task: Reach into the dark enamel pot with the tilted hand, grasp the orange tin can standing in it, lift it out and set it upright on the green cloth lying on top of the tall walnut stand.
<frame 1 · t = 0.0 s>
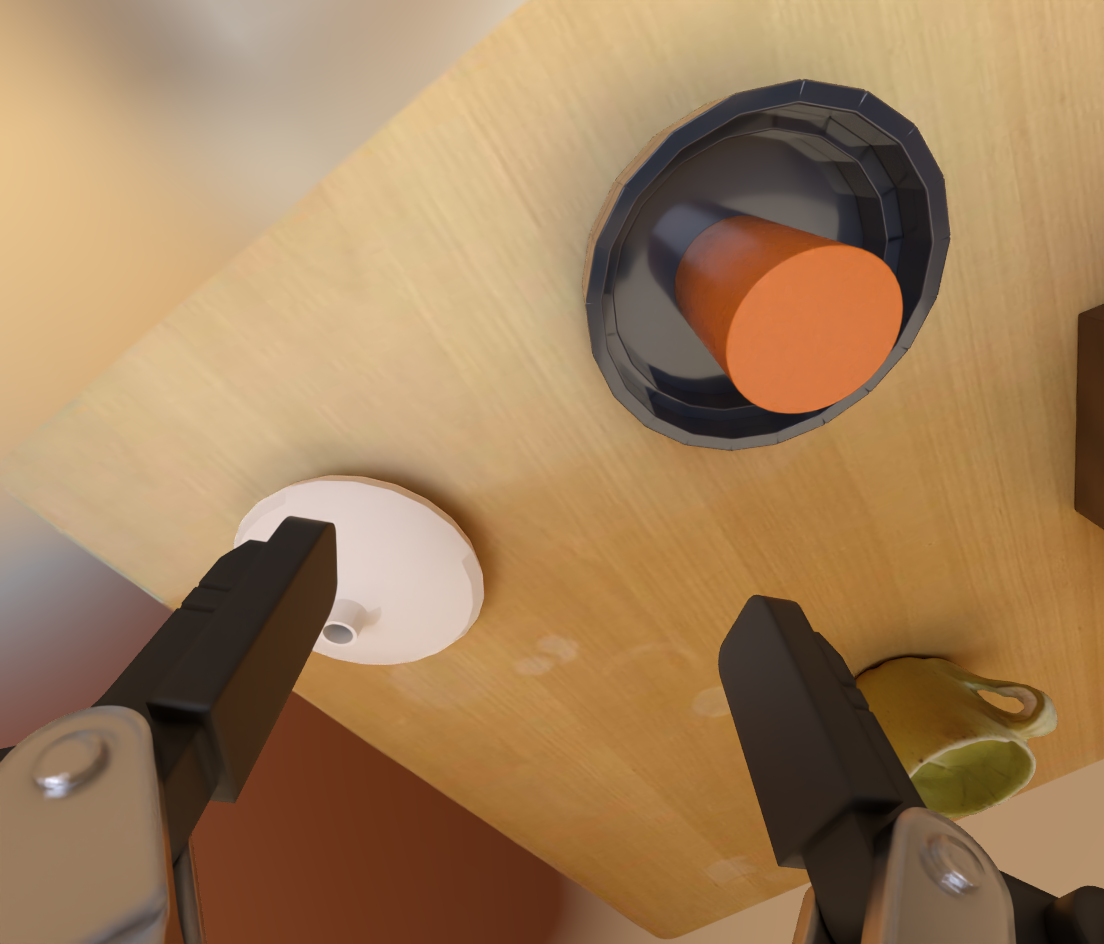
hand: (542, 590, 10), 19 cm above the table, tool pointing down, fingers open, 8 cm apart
mug: (914, 671, 41), on the table
orange can: (732, 280, 24), point 1 cm above the table, touching pot
pot: (729, 277, 25), on the table
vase: (377, 549, 35), on the table
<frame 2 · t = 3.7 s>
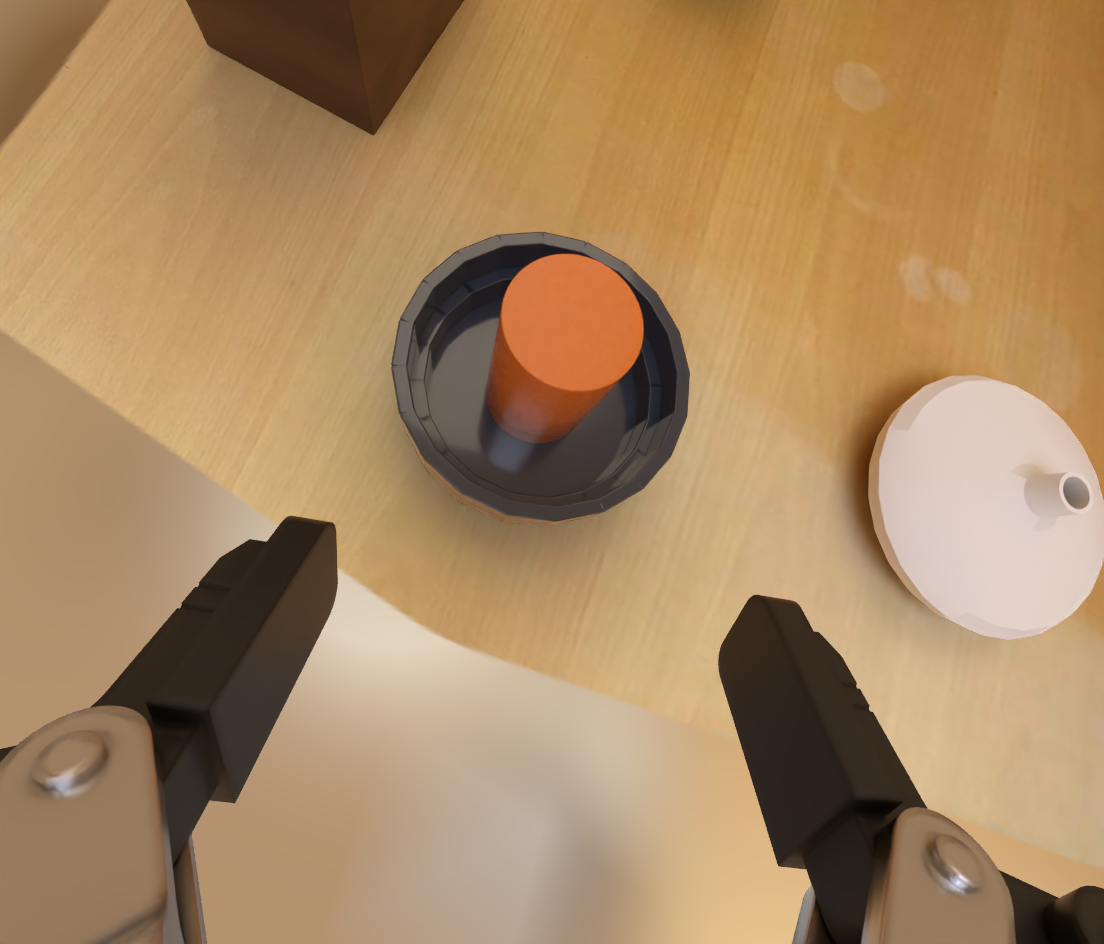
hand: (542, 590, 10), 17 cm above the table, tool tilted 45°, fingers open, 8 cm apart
orange can: (536, 394, 28), point 1 cm above the table, touching pot
stand: (352, 9, 30), on the table
pot: (534, 398, 28), on the table
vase: (942, 506, 33), on the table
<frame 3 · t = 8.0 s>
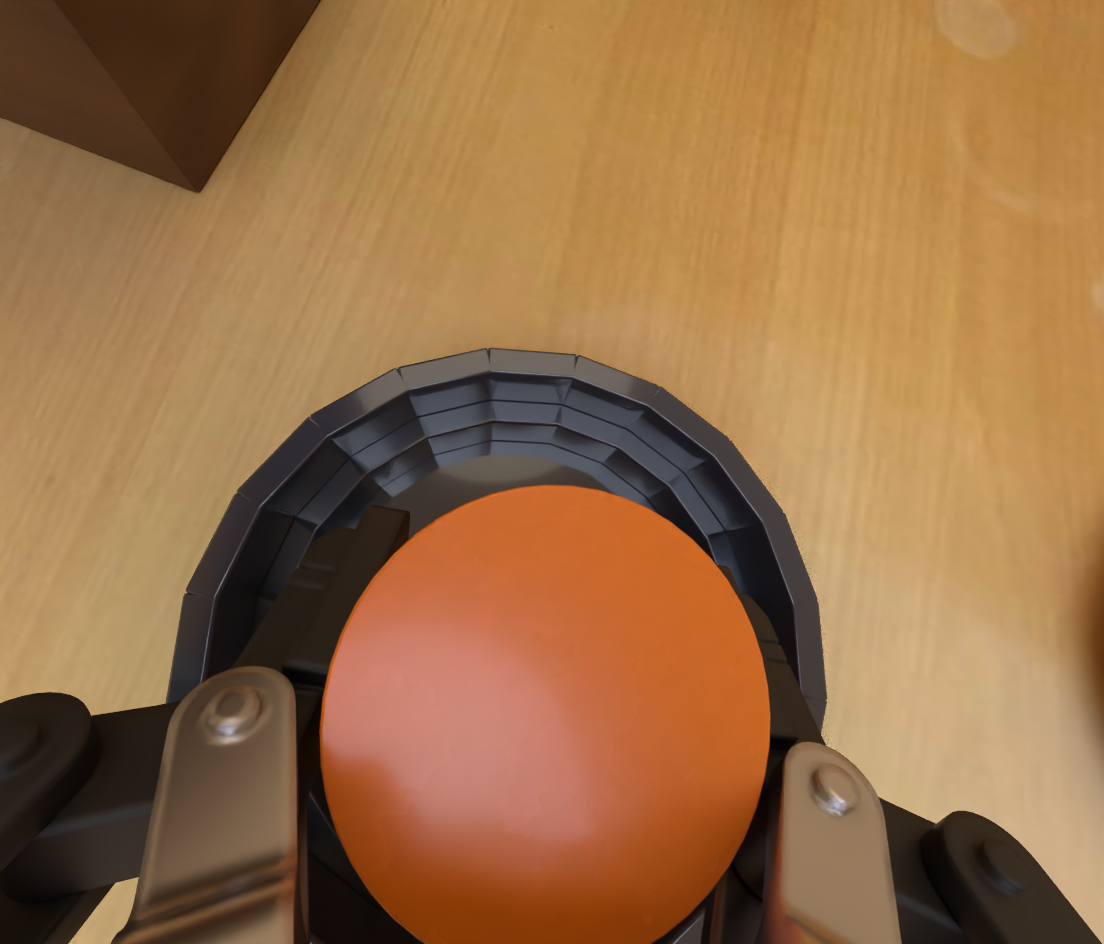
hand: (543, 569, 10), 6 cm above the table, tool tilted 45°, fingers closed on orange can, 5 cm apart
orange can: (513, 631, 15), point 1 cm above the table, touching gripper, pot
pot: (513, 629, 15), on the table
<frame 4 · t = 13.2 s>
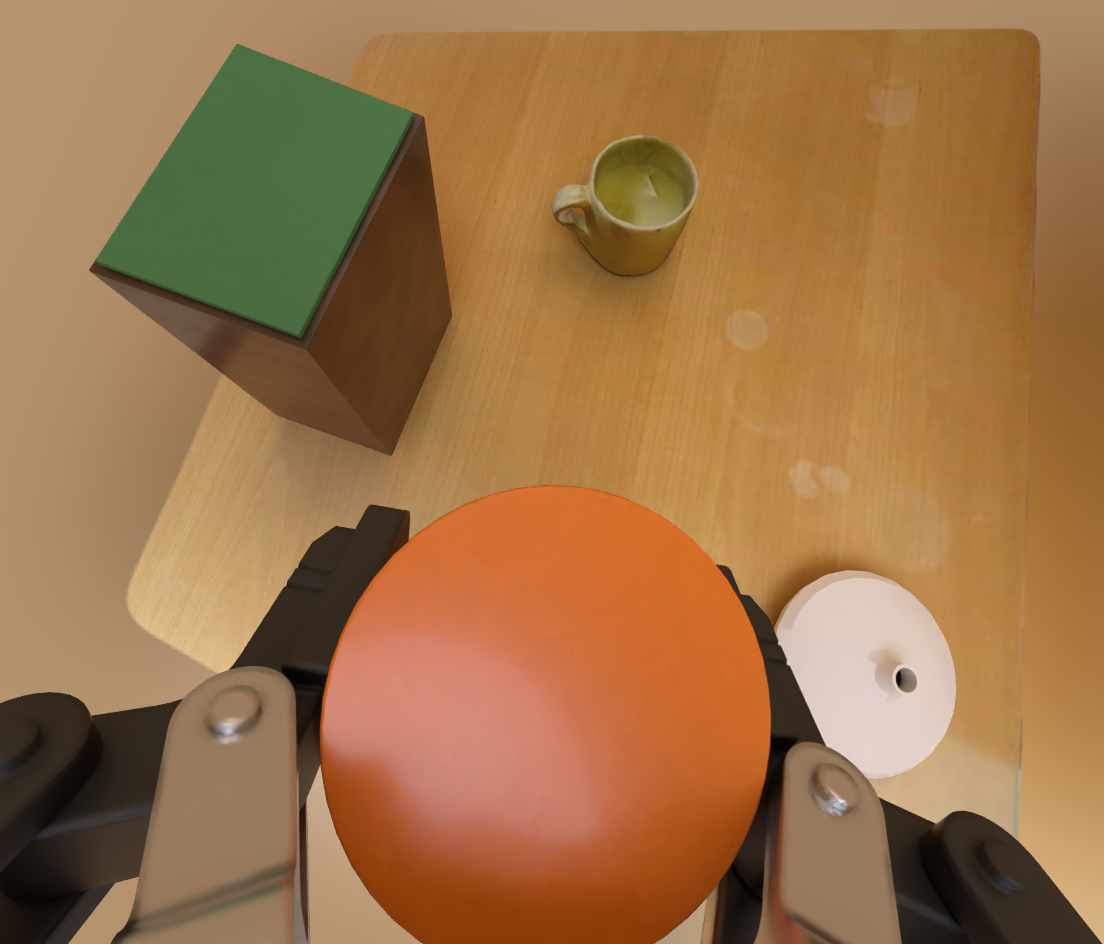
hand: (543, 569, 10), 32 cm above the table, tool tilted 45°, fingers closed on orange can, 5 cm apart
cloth: (269, 187, 24), resting on stand
mug: (607, 243, 49), on the table
orange can: (514, 631, 15), point 26 cm above the table, touching gripper
stand: (368, 362, 43), on the table
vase: (838, 663, 43), on the table
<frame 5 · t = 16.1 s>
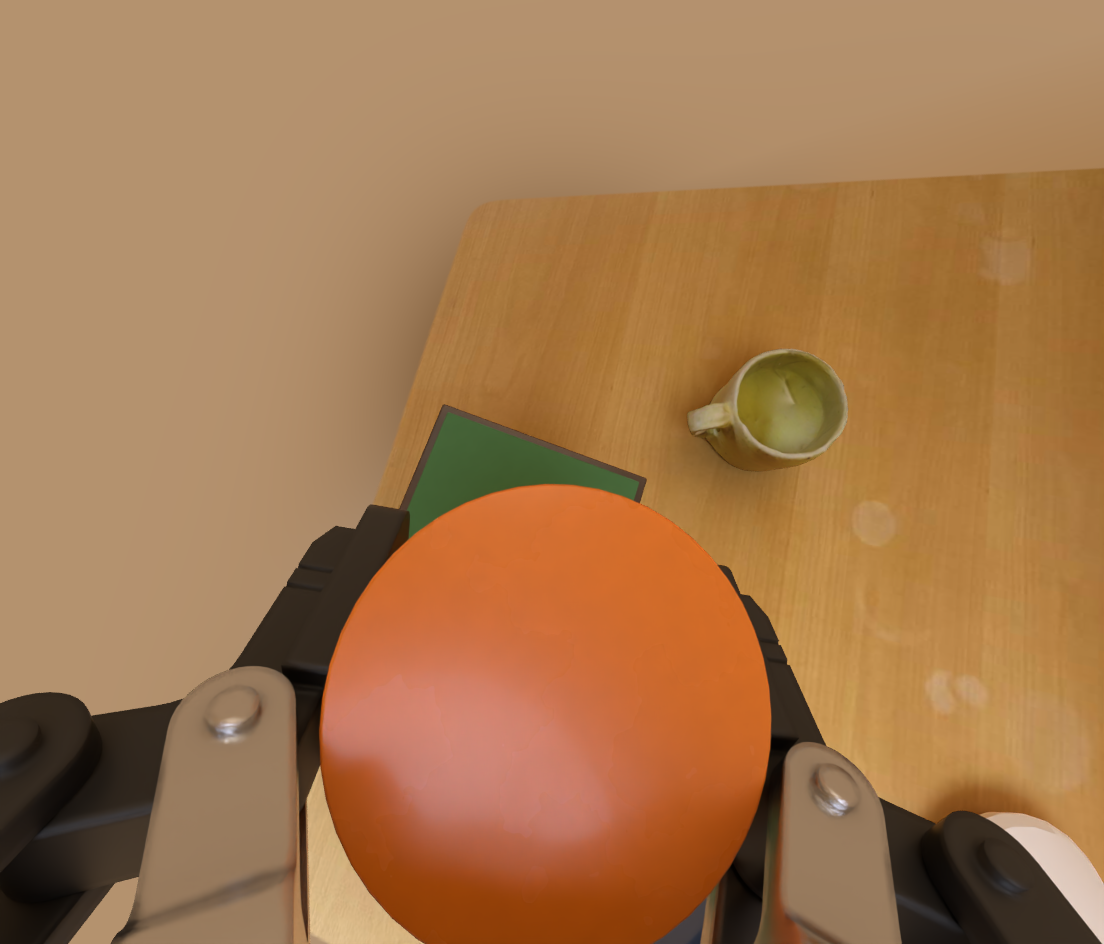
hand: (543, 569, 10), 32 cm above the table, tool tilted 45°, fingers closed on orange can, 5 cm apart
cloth: (493, 589, 21), resting on stand
mug: (727, 431, 46), on the table
orange can: (514, 631, 15), point 26 cm above the table, touching gripper
stand: (489, 583, 41), on the table
pot: (660, 887, 38), on the table
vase: (985, 902, 41), on the table
when the fingers open (26 cm above the table, at t = 18.4 s): orange can stays where it is, resting on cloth.
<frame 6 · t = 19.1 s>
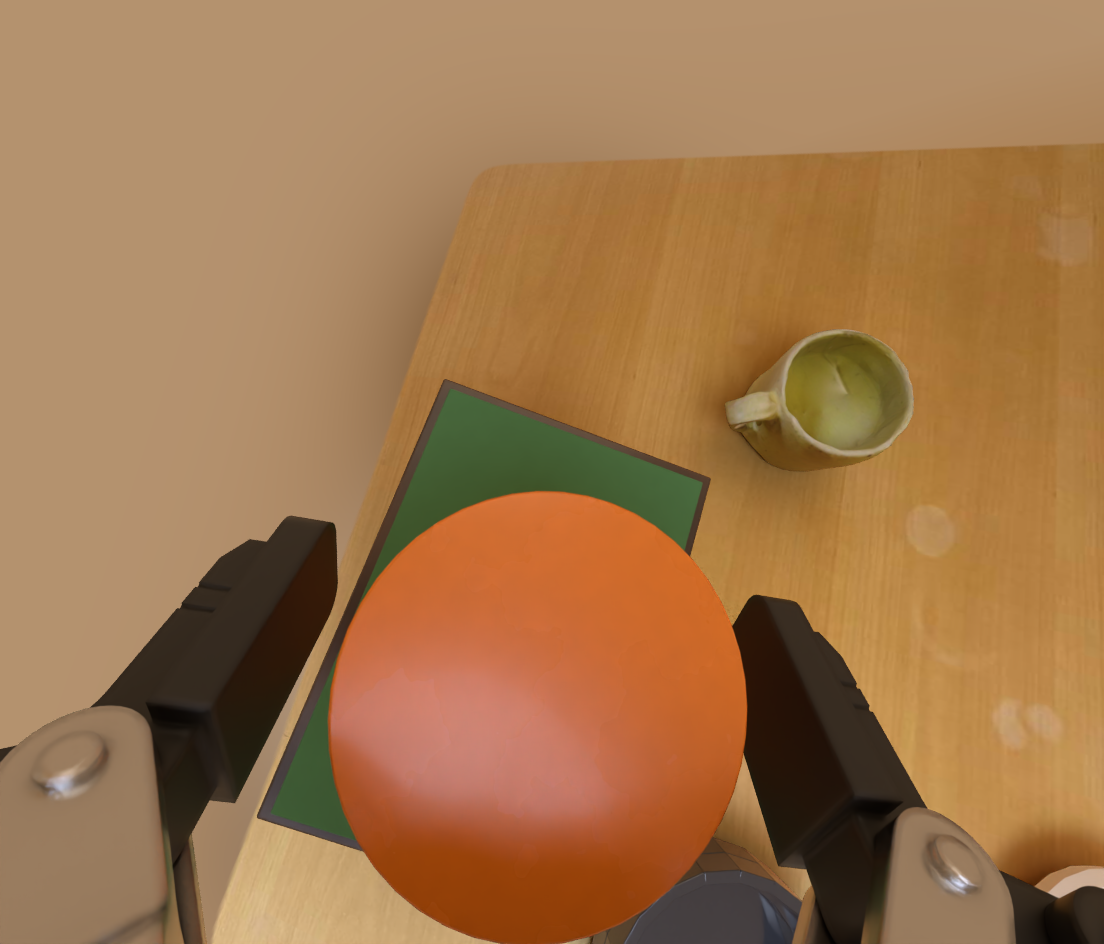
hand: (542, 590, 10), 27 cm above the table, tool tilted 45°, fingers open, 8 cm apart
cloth: (511, 627, 16), resting on stand
mug: (764, 426, 41), on the table
orange can: (511, 629, 15), point 20 cm above the table, touching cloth
stand: (496, 599, 35), on the table
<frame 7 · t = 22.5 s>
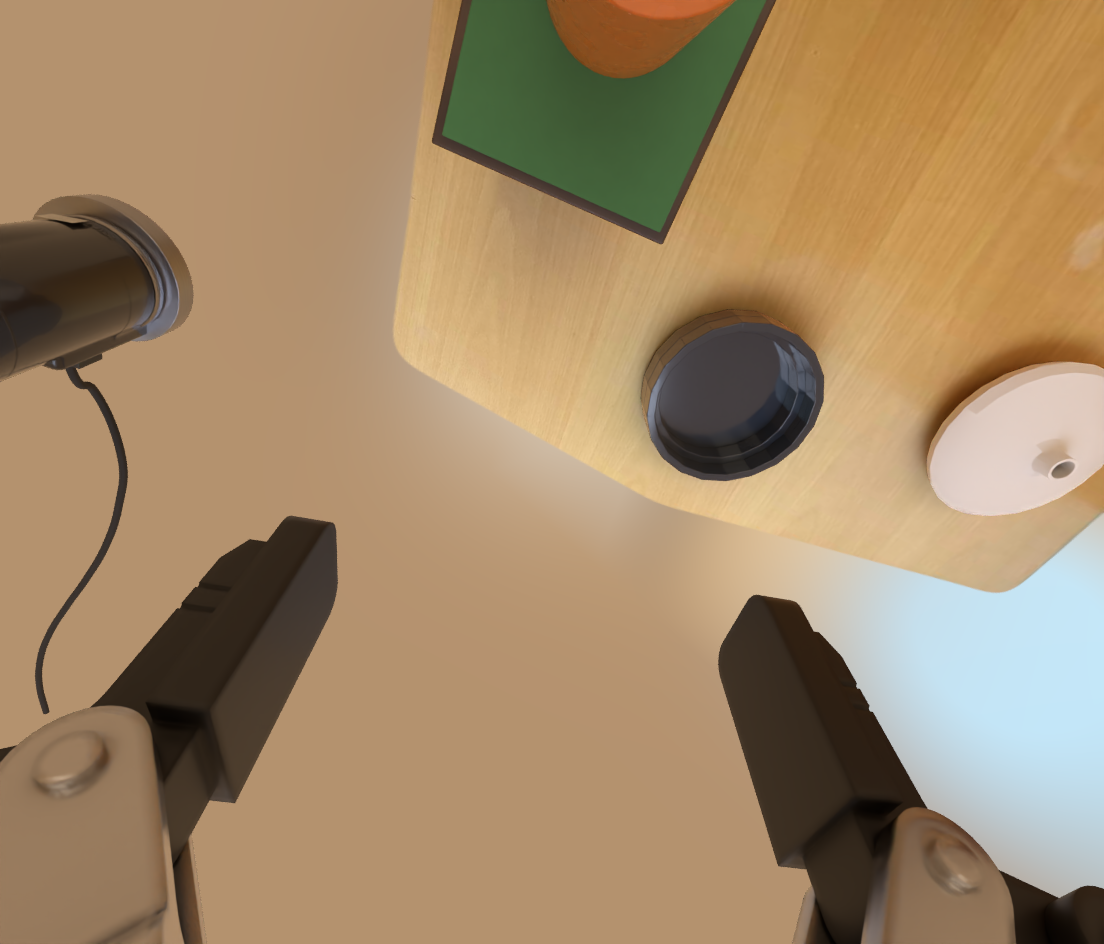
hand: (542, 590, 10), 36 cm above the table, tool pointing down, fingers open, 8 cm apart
stand: (594, 65, 33), on the table
pot: (719, 388, 46), on the table
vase: (998, 429, 48), on the table
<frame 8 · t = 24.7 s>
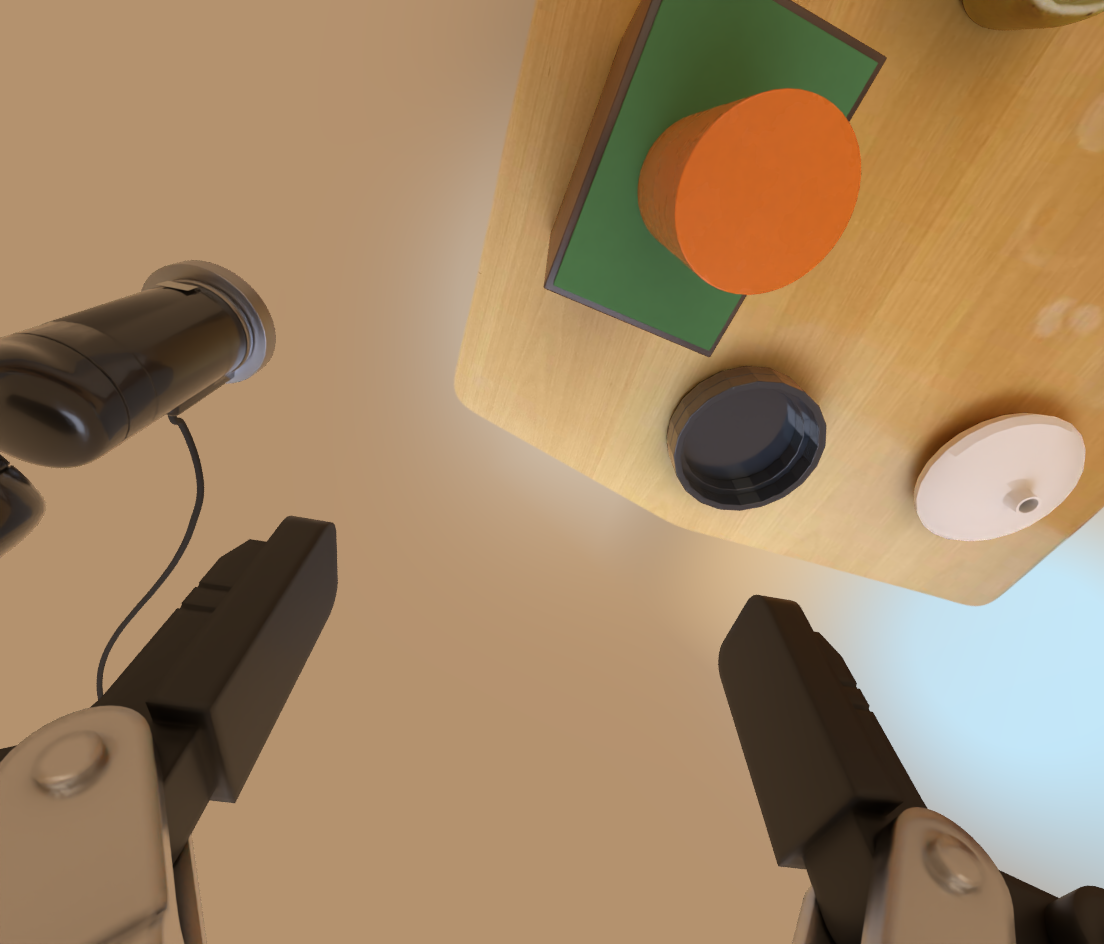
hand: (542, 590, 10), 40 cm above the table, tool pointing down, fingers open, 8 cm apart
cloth: (696, 185, 23), resting on stand
orange can: (698, 186, 23), point 20 cm above the table, touching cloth
stand: (639, 173, 40), on the table
pot: (735, 429, 53), on the table
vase: (976, 466, 55), on the table
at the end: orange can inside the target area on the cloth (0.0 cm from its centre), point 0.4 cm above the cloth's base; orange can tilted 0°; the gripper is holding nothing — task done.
